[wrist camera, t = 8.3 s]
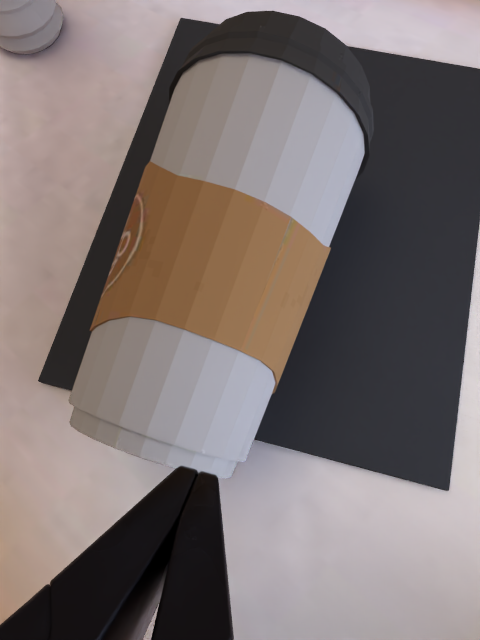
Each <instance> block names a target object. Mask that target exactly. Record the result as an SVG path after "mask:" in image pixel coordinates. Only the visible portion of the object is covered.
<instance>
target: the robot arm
mask: <svg viewBox="0 0 480 640" xmlns="http://www.w3.org/2000/svg"><path fill="white" fill-rule="evenodd" d="M159 601H160V603H159ZM158 604H159V607H158V612H157V616H156V621H155V625H154V629H153V634H152V638H151V640H234V636H233V626H232V616H231V605H230V595H229V585H228V575H227V564H226V554H225V544H224V534H223V523H222V513H221V503H220V493H219V483H218V477H217V475H215V474H212V473H208V472H204V471H200V472H199V473H198V471H197V470H196V469H194V468H190V467H186V466H179V467H178V468H176V469H175V470H174V471H173V472H172V473H171V474H170V475H168V476H167V477H166V478H165V479H164V480H163V481H162V482H161V483H160V484H158V485H157V486H156V487H155V488H154V489H153V490H152V491H151V492H150V493H148V494H147V495H146V496H145V497H144V498H143V499H142V500H141V501H139V502H138V503H137V504H136V505H135V506H134V507H133V508H132V509H131V510H129V511H128V512H127V513H126V514H125V515H124V516H123V517H122V518H121V519H119V520H118V521H117V522H116V523H115V524H114V525H113V526H112V527H110V528H109V529H108V530H107V531H106V532H105V533H104V534H103V535H102V536H100V537H99V538H98V539H97V540H96V541H95V542H94V543H93V544H91V545H90V546H89V547H88V548H87V549H86V550H85V551H84V552H83V553H81V554H80V555H79V556H78V557H77V558H76V559H75V560H74V561H73V562H71V563H70V564H69V565H68V566H67V567H66V568H65V569H64V570H62V571H61V572H60V573H59V574H58V575H57V576H56V577H55V578H54V579H52V580H51V582H50V585H49V584H47V585H45V586H44V587H43V588H42V589H41V590H40V591H39V592H38V593H37V594H35V595H34V596H33V597H32V598H31V599H30V600H29V601H28V602H26V603H25V604H24V605H23V606H22V607H21V608H19V609H18V610H17V611H16V612H15V613H14V614H12V615H11V616H10V617H9V618H8V619H6V620H5V621H4V622H3V623H2V624H1V625H0V640H143V638H144V635H145V633H146V631H147V629H148V626H149V624H150V622H151V619H152V617H153V615H154V613H155V610H156V608H157V606H158Z"/></svg>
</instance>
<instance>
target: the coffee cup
mask: <svg viewBox="0 0 480 640" xmlns="http://www.w3.org/2000/svg"><path fill="white" fill-rule="evenodd" d="M373 131H374V122H373V108H372V106H371V103H370V85H369V83H368V80H367V78H366V75H365V73H364V70H363V68H362V65H361V64H360V63H359V61H358V60H357V59H356V57H355V56H354V55H353V53H352V52H351V51H350V50H349V48H348V47H347V46H346V45H345V44H344V43H343V42H341V41H340V40H339V39H337V38H336V37H335V36H334V35H332V34H331V33H330V32H329V31H327V30H326V29H325V28H323V27H320V26H318V25H316V24H314V23H312V22H310V21H308V20H306V19H304V18H301V17H299V16H294V15H290V14H285V13H280V12H275V11H258V12H246V13H243V14H240V15H237V16H234V17H232V18H229V19H226V20H225V21H224V22H222V23H221V24H220V25H219V26H218V27H216V28H215V29H214V30H213V31H211V33H210V34H208V35H207V36H206V37H204V38H203V39H202V40H201V41H200V42H198V43H197V44H196V45H195V46H193V47H192V48H191V50H190V52H189V54H188V56H187V58H186V59H185V61H184V63H183V65H182V67H181V68H180V69H179V70H178V71H177V73H176V75H175V77H174V79H173V81H172V83H171V85H170V87H169V107H168V110H167V113H166V116H165V119H164V122H163V125H162V127H161V130H160V133H159V136H158V139H157V142H156V145H155V148H154V151H153V154H152V157H151V160H150V162H149V163H148V164H147V165H146V166H145V169H144V172H143V175H142V178H141V181H140V184H139V187H138V190H137V193H136V196H135V199H134V202H133V205H132V207H131V210H130V213H129V216H128V219H127V222H126V225H125V228H124V231H123V234H122V237H121V240H120V243H119V246H118V249H117V252H116V254H115V257H114V260H113V263H112V266H111V269H110V272H109V275H108V278H107V281H106V284H105V287H104V290H103V293H102V296H101V299H100V301H99V304H98V307H97V310H96V313H95V316H94V319H93V322H92V325H91V328H90V331H92V333H91V336H90V339H89V342H88V345H87V348H86V351H85V354H84V357H83V360H82V363H81V366H80V369H79V372H78V375H77V377H76V380H75V383H74V386H73V389H72V392H71V395H70V398H69V403H70V404H72V405H73V406H75V407H74V410H73V413H72V416H71V419H70V425H71V426H72V427H73V428H75V429H76V430H77V431H79V432H81V433H83V434H85V435H87V436H88V437H90V438H92V439H94V440H97V441H99V442H101V443H104V444H106V445H108V446H111V447H113V448H116V449H118V450H121V451H124V452H126V453H129V454H132V455H135V456H137V457H140V458H143V459H146V460H149V461H152V462H156V463H159V464H162V465H165V466H168V467H172V468H178V467H179V466H186V467H190V468H194V469H196V470H197V471H198V473H199V472H200V471H204V472H208V473H212V474H215V475H217V477H218V478H230V477H231V476H232V474H233V472H234V469H235V467H236V464H237V462H238V461H240V462H245V461H246V459H247V456H248V453H249V451H250V448H251V446H252V443H253V441H254V438H255V435H256V433H257V430H258V428H259V425H260V423H261V420H262V417H263V415H264V412H265V410H266V407H267V405H268V402H269V399H270V397H271V394H273V393H275V391H276V388H277V385H278V383H279V380H280V378H281V375H282V373H283V370H284V367H285V365H286V362H287V360H288V357H289V355H290V352H291V349H292V347H293V344H294V342H295V339H296V337H297V334H298V332H299V329H300V326H301V324H302V321H303V319H304V316H305V314H306V311H307V308H308V306H309V303H310V301H311V298H312V296H313V293H314V290H315V288H316V285H317V283H318V280H319V278H320V275H321V273H322V270H323V267H324V265H325V262H326V260H327V257H328V255H329V252H330V249H331V247H329V245H330V243H331V240H332V238H333V235H334V233H335V230H336V227H337V225H338V222H339V220H340V217H341V215H342V212H343V209H344V207H345V204H346V202H347V199H348V197H349V194H350V191H351V189H352V186H353V184H354V181H355V180H356V179H357V178H358V177H359V176H360V175H361V174H362V173H363V172H364V169H365V166H366V164H367V161H368V158H369V144H370V141H371V139H372V136H373Z"/></svg>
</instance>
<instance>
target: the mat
mask: <svg viewBox="0 0 480 640" xmlns="http://www.w3.org/2000/svg"><path fill="white" fill-rule="evenodd" d="M219 25H220V24H214V23H209V22H203V21H197V20H191V19H185V18H181V19H180V21H179V24H178V26H177V29H176V31H175V34H174V36H173V39H172V41H171V44H170V47H169V49H168V52H167V54H166V57H165V59H164V62H163V64H162V67H161V69H160V72H159V75H158V77H157V80H156V82H155V85H154V87H153V90H152V92H151V95H150V97H149V100H148V103H147V105H146V108H145V110H144V113H143V115H142V118H141V120H140V123H139V125H138V128H137V131H136V133H135V136H134V138H133V141H132V143H131V146H130V148H129V151H128V153H127V156H126V159H125V161H124V164H123V166H122V169H121V171H120V174H119V176H118V179H117V181H116V184H115V186H114V189H113V192H112V194H111V197H110V199H109V202H108V204H107V207H106V209H105V212H104V214H103V217H102V220H101V222H100V225H99V227H98V230H97V232H96V235H95V237H94V240H93V242H92V245H91V248H90V250H89V253H88V255H87V258H86V260H85V263H84V265H83V268H82V270H81V273H80V276H79V278H78V281H77V283H76V286H75V288H74V291H73V293H72V296H71V298H70V301H69V304H68V306H67V309H66V311H65V314H64V316H63V319H62V321H61V324H60V326H59V329H58V332H57V334H56V337H55V339H54V342H53V344H52V347H51V349H50V352H49V354H48V357H47V359H46V362H45V365H44V367H43V370H42V372H41V375H40V377H39V380H38V381H39V382H42V383H45V384H49V385H53V386H57V387H60V388H64V389H68V390H72V389H73V386H74V383H75V380H76V377H77V375H78V372H79V369H80V366H81V363H82V360H83V357H84V354H85V351H86V348H87V345H88V342H89V339H90V336H91V333H92V331H90V328H91V325H92V322H93V319H94V316H95V313H96V310H97V307H98V304H99V301H100V299H101V296H102V293H103V290H104V287H105V284H106V281H107V278H108V275H109V272H110V269H111V266H112V263H113V260H114V257H115V254H116V252H117V249H118V246H119V243H120V240H121V237H122V234H123V231H124V228H125V225H126V222H127V219H128V216H129V213H130V210H131V207H132V205H133V202H134V199H135V196H136V193H137V190H138V187H139V184H140V181H141V178H142V175H143V172H144V169H145V166H146V165H147V164H148V163H149V162H150V160H151V157H152V154H153V151H154V148H155V145H156V142H157V139H158V136H159V133H160V130H161V127H162V125H163V122H164V119H165V116H166V113H167V110H168V107H169V87H170V85H171V83H172V81H173V79H174V77H175V75H176V73H177V71H178V70H179V69H180V68H181V67H182V65H183V63H184V61H185V59H186V58H187V56H188V54H189V52H190V50H191V48H192V47H193V46H195V45H196V44H197V43H198V42H200V41H201V40H202V39H203V38H204V37H206V36H207V35H208V34H210V33H211V31H213V30H214V29H215V28H216V27H218V26H219ZM347 47H348V48H349V50H350V51H351V52H352V53H353V55H354V56H355V57H356V59H357V60H358V61H359V63H360V64H361V65H362V68H363V70H364V73H365V75H366V78H367V80H368V83H369V85H370V103H371V106H372V108H373V122H374V131H373V136H372V139H371V141H370V144H369V158H368V161H367V164H366V166H365V169H364V172H363V173H362V174H361V175H360V176H359V177H358V178H357V179H356V180H355V181H354V184H353V186H352V189H351V191H350V194H349V197H348V199H347V202H346V204H345V207H344V209H343V212H342V215H341V217H340V220H339V222H338V225H337V227H336V230H335V233H334V235H333V238H332V240H331V243H330V245H329V247H331V249H330V252H329V255H328V257H327V260H326V262H325V265H324V267H323V270H322V273H321V275H320V278H319V280H318V283H317V285H316V288H315V290H314V293H313V296H312V298H311V301H310V303H309V306H308V308H307V311H306V314H305V316H304V319H303V321H302V324H301V326H300V329H299V332H298V334H297V337H296V339H295V342H294V344H293V347H292V349H291V352H290V355H289V357H288V360H287V362H286V365H285V367H284V370H283V373H282V375H281V378H280V380H279V383H278V385H277V388H276V391H275V393H273V394H271V397H270V399H269V402H268V405H267V407H266V410H265V412H264V415H263V417H262V420H261V423H260V425H259V428H258V430H257V433H256V435H255V438H254V439H255V440H259V441H263V442H267V443H270V444H274V445H278V446H282V447H285V448H289V449H293V450H297V451H300V452H304V453H308V454H312V455H315V456H319V457H323V458H327V459H330V460H334V461H338V462H342V463H345V464H349V465H353V466H357V467H360V468H364V469H368V470H372V471H375V472H379V473H383V474H387V475H390V476H394V477H398V478H402V479H405V480H409V481H413V482H417V483H420V484H424V485H428V486H432V487H435V488H439V489H443V490H447V491H449V484H450V476H451V467H452V458H453V449H454V441H455V432H456V423H457V414H458V406H459V397H460V388H461V379H462V371H463V362H464V353H465V344H466V336H467V327H468V318H469V309H470V301H471V292H472V283H473V274H474V266H475V257H476V248H477V239H478V231H479V222H480V69H477V68H472V67H466V66H460V65H454V64H448V63H442V62H436V61H431V60H425V59H419V58H413V57H407V56H401V55H396V54H390V53H384V52H378V51H372V50H366V49H361V48H355V47H349V46H347Z"/></svg>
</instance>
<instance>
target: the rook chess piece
mask: <svg viewBox="0 0 480 640" xmlns="http://www.w3.org/2000/svg"><path fill="white" fill-rule="evenodd" d="M63 18H64V17H63V13H62V9H61V7H60V6H59V5H58V4H57V3H56V1H55V0H0V47H1V48H4V49H6V50H8V51H11V52H13V53H16V54H32V53H35V52H39V51H42V50H44V49H45V48H47V47H48V46H50V45H52V44H53V42H54V41H55V40H56V39H57V37H58V36H59V33H60V30H61V26H62V22H63Z"/></svg>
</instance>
